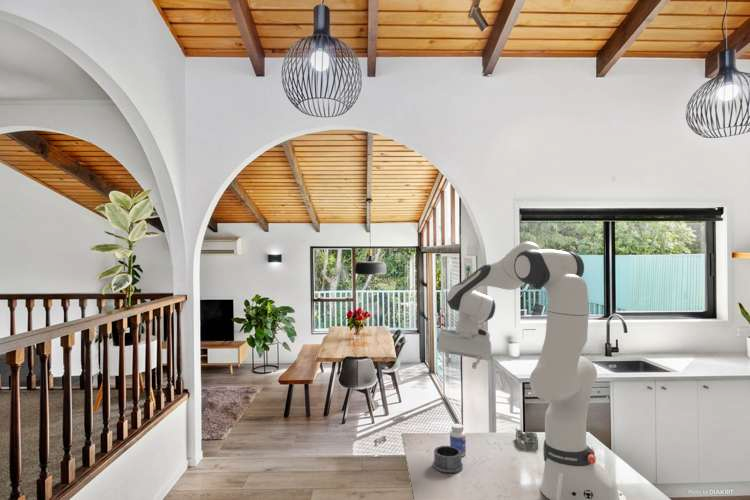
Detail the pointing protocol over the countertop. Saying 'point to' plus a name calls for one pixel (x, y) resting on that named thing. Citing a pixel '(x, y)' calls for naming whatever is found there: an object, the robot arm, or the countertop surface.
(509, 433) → the countertop surface
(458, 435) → the pill bottle
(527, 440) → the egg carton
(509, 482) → the countertop surface
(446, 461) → the cup holder
